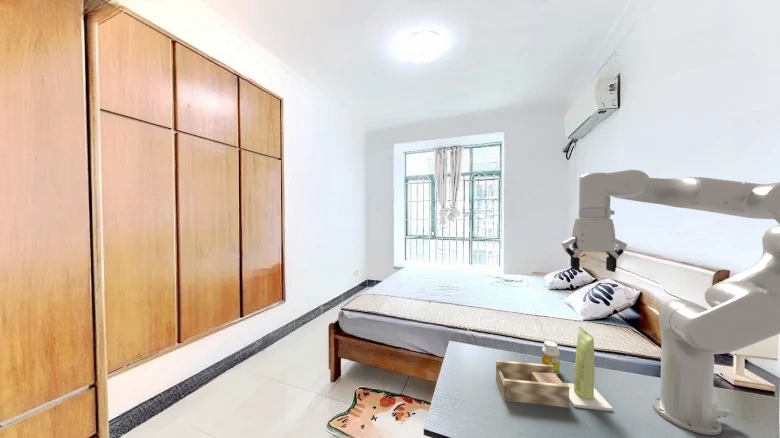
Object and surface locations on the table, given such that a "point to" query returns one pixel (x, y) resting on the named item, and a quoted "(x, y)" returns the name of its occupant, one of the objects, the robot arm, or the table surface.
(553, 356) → the supplement bottle
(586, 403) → the tile
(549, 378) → the offcut top
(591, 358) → the tube
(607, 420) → the table surface
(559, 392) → the tray
